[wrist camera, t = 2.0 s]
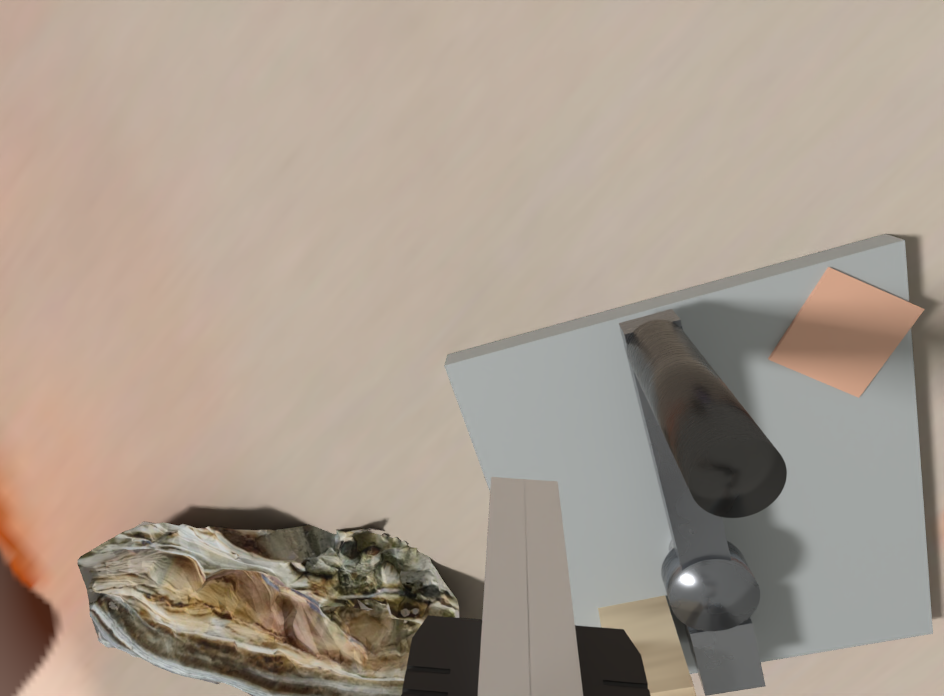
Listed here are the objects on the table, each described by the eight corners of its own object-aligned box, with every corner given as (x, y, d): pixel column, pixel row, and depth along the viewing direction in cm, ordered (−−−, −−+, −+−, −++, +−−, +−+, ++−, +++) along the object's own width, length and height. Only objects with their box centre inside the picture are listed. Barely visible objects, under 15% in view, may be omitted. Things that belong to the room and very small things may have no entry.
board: (916, 613, 36) (932, 633, 35) (562, 674, 40) (563, 694, 38) (885, 233, 28) (904, 239, 27) (447, 354, 32) (444, 365, 30)
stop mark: (856, 395, 30) (858, 397, 29) (767, 358, 29) (769, 360, 29) (921, 308, 28) (924, 309, 28) (828, 266, 27) (830, 267, 27)
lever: (756, 638, 35) (883, 914, 23) (680, 652, 36) (764, 925, 24) (684, 287, 28) (815, 419, 16) (591, 313, 28) (647, 458, 16)
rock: (431, 663, 45) (480, 522, 38) (431, 765, 39) (489, 621, 32) (101, 633, 41) (85, 470, 34) (43, 742, 35) (10, 572, 28)
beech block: (678, 645, 36) (707, 741, 31) (613, 656, 37) (630, 752, 31) (665, 595, 35) (693, 686, 29) (597, 608, 36) (613, 699, 30)
